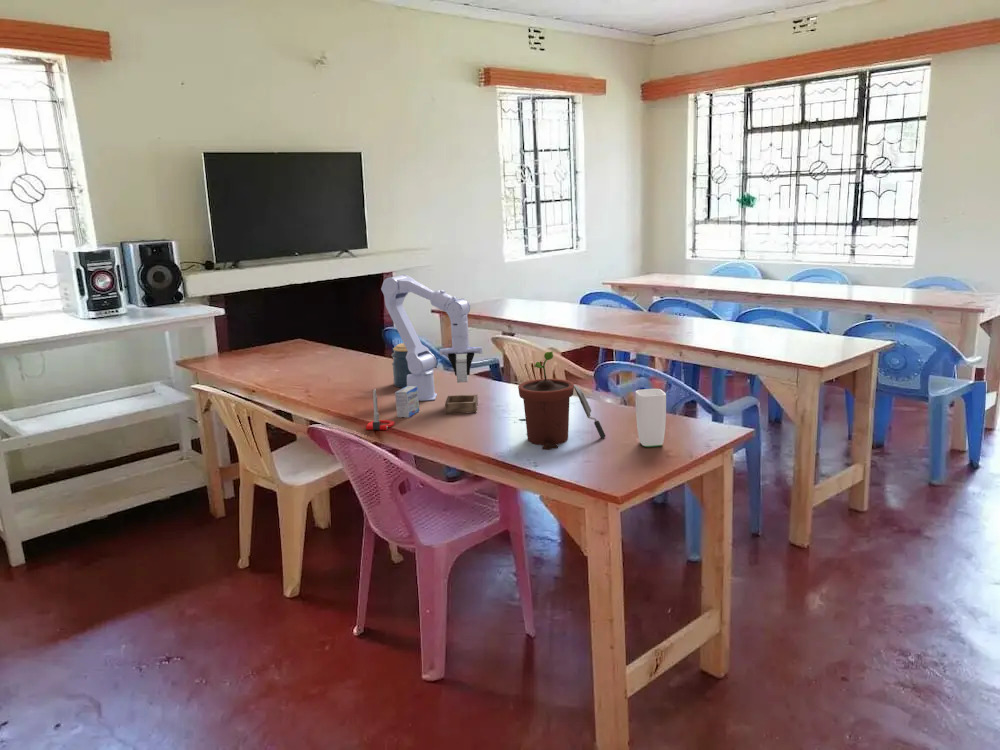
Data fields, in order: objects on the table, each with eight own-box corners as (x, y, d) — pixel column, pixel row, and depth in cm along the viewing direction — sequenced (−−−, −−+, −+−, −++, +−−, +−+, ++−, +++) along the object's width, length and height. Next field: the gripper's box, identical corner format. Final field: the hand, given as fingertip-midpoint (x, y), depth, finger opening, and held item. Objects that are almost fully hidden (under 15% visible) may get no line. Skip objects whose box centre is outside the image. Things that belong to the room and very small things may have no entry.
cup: (667, 447, 212) (667, 394, 209) (641, 449, 212) (640, 396, 208) (660, 439, 219) (660, 388, 216) (634, 441, 219) (634, 389, 215)
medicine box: (409, 418, 253) (406, 392, 251) (396, 417, 254) (394, 391, 252) (419, 411, 260) (417, 386, 258) (407, 410, 262) (405, 385, 260)
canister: (399, 390, 290) (395, 343, 286) (389, 383, 302) (385, 338, 298) (432, 385, 295) (429, 339, 291) (421, 378, 307) (418, 334, 303)
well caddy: (445, 414, 255) (445, 403, 255) (448, 405, 265) (447, 395, 264) (476, 412, 255) (475, 402, 254) (478, 404, 265) (477, 394, 264)
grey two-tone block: (457, 382, 265) (455, 362, 264) (458, 379, 270) (457, 359, 268) (467, 382, 265) (466, 362, 263) (468, 378, 270) (467, 358, 268)
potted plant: (545, 426, 237) (542, 345, 231) (606, 437, 223) (605, 352, 218) (508, 442, 224) (504, 356, 218) (571, 455, 210) (568, 364, 204)
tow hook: (372, 423, 251) (363, 430, 242) (369, 383, 249) (360, 389, 240) (397, 423, 250) (389, 430, 241) (395, 383, 247) (386, 389, 238)
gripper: (437, 338, 260) (440, 378, 263) (480, 336, 260) (483, 376, 263) (439, 334, 267) (442, 373, 270) (481, 333, 267) (484, 371, 270)
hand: (462, 374), depth 267 cm, fingers closed on grey two-tone block, 3 cm apart
